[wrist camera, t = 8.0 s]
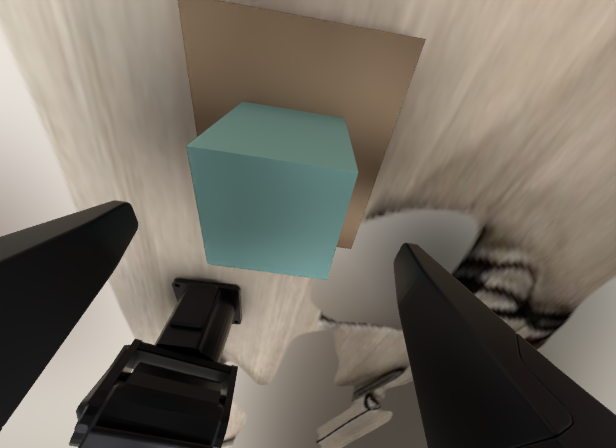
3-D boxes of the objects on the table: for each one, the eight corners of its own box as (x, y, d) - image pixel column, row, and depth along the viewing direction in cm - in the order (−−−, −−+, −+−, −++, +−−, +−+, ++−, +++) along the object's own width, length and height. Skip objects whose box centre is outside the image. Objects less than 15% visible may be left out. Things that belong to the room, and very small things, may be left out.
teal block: (325, 202, 15) (326, 280, 10) (245, 190, 15) (207, 263, 10) (344, 118, 12) (358, 172, 7) (242, 101, 12) (186, 145, 7)
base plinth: (348, 231, 19) (351, 248, 17) (220, 212, 18) (210, 228, 17) (411, 38, 11) (425, 38, 10) (198, -1, 11) (176, -8, 9)
